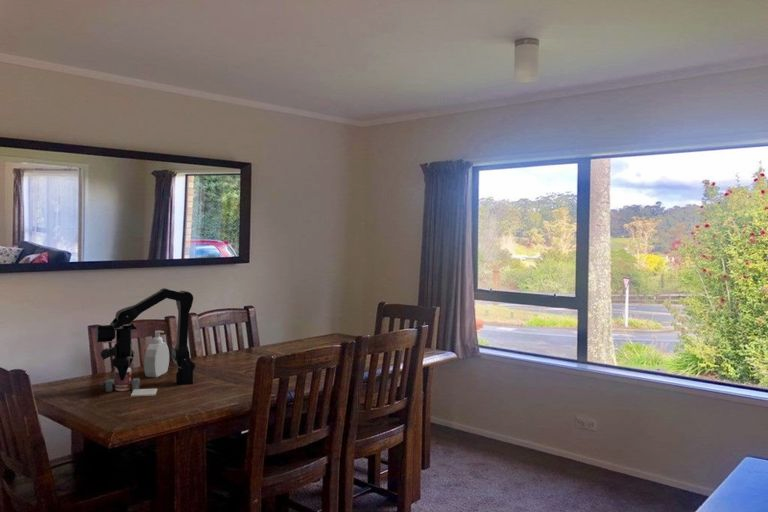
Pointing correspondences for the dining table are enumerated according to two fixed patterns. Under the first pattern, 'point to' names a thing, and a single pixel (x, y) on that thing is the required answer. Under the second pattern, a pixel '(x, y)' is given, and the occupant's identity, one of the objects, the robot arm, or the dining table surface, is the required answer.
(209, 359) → the dining table surface
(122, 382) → the pill bottle
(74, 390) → the dining table surface
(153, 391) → the coaster
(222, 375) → the dining table surface
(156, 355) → the soap bottle
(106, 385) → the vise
